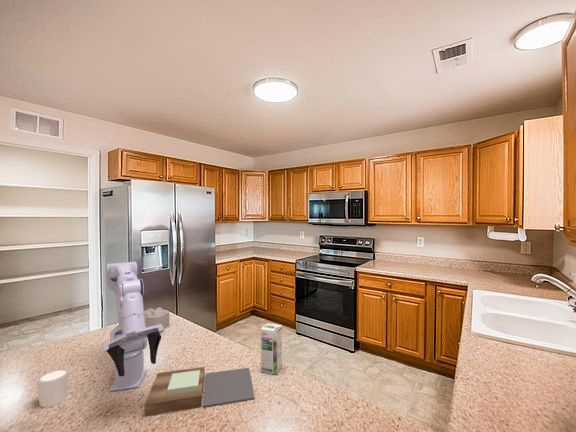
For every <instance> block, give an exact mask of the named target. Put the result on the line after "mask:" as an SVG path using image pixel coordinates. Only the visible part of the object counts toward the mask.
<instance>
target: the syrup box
mask: <svg viewBox="0 0 576 432" xmlns="http://www.w3.org/2000/svg"><path fill="white" fill-rule="evenodd" d="M282 326H283V325H282V324H273V323H266V324H264V325H263V326H262V327H261V328H260V372H261V373H266V374H270V375H274V376H275V375H277V374H278V372H279V371H280V370H281V368H282V367H283V332H282V331H283V327H282Z"/></svg>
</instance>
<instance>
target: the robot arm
mask: <svg viewBox="0 0 576 432" xmlns="http://www.w3.org/2000/svg"><path fill="white" fill-rule="evenodd" d="M105 276H106V277H105V278H106V286H107V288H108V289H109V290H111V291H112V292H114V295H115V301H116V310H117V319H118V325H117V326H115V327H114V328H113V329H112V330H111V332H110V334H109V341H107V342H105V343H103V351H104V352H105V353H108V355H109V357H110V358H111V360H112V361H113V363H114V382H113V384H111V387H110V388H109V391H110V392H113V391H114V392H115V391H123V390H129V389H134V388H136V389H137V388H139V387H140V385H141V384H142V381H143V380H144V377H145V376H146V373H147V371H148V370H147V369H144V367H145V366H144V363H145V361H144V359H145V357H144V356H145V355H144V350H145V349H146V348H147V346H148V347H149V358H150V359H149V360H150V363H151V364H152V365H155V364H156V363H157V355H158V349H159V345H160V343H161V340H162V335H161V334H162V333H165V329H164V327H163V325H162V324H159V325H155V326H151V327H147V328H146V324H145V316H144V311H145V309H144V300H143V299H144V298H143V297H144V295H145V294H144V293H145V287H144V281H143V278H138V262H137V261H128V262H116V263H109V262H108V263H107V264H106V265H105Z"/></svg>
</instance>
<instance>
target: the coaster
mask: <svg viewBox="0 0 576 432" xmlns="http://www.w3.org/2000/svg"><path fill="white" fill-rule="evenodd" d="M199 380H200V370H197V371H189V372H182V373H174V374H172V377H171V380H170V383H169V386H168V389H167V395H173V394H180V393H186V392H193V391H198V388H199Z"/></svg>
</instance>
